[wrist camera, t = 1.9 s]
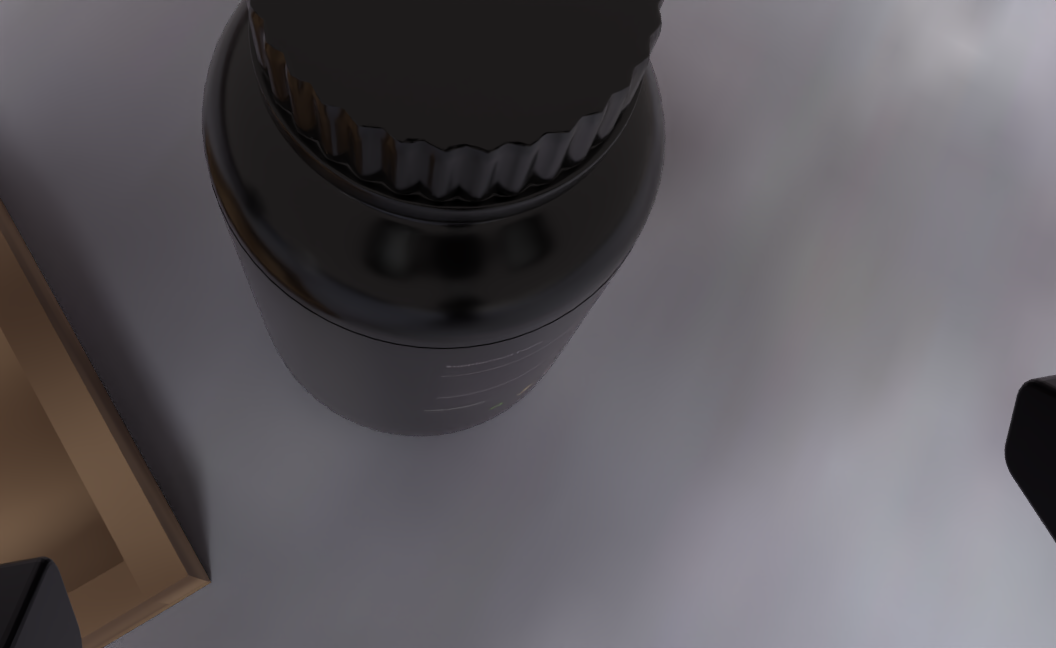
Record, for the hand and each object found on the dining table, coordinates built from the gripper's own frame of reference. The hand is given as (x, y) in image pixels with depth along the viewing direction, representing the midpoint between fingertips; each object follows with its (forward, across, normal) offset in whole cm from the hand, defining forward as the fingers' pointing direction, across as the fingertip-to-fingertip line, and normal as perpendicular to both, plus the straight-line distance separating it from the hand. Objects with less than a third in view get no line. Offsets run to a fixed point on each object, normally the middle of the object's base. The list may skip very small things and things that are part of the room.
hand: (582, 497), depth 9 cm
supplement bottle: (+13, 0, +4) cm, 14 cm away
